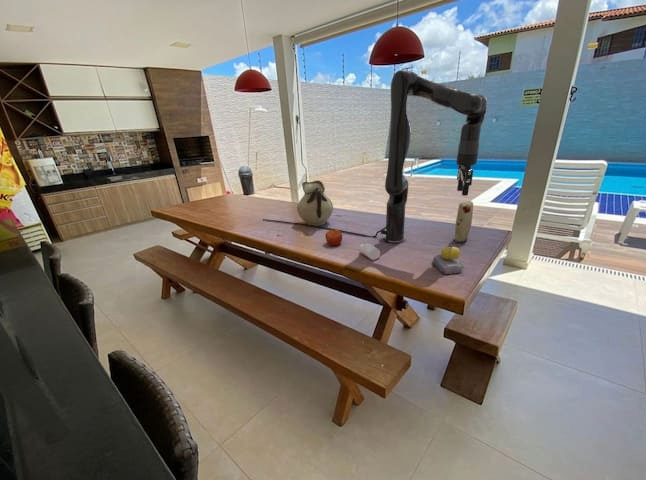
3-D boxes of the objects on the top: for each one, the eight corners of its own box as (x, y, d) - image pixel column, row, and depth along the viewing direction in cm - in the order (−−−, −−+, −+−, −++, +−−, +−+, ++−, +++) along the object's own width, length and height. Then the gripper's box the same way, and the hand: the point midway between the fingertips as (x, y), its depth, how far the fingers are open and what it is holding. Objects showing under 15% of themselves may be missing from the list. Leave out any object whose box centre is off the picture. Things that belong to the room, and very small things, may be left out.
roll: (367, 249, 151) (367, 239, 149) (380, 258, 141) (380, 247, 138) (356, 252, 149) (356, 241, 147) (368, 261, 139) (368, 249, 136)
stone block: (451, 264, 135) (430, 262, 134) (455, 254, 133) (433, 252, 132) (464, 277, 125) (441, 275, 123) (468, 267, 122) (445, 264, 121)
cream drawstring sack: (313, 216, 208) (310, 178, 197) (342, 221, 196) (340, 181, 185) (291, 225, 192) (286, 185, 181) (321, 231, 179) (318, 188, 169)
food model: (463, 244, 150) (469, 204, 141) (450, 241, 154) (455, 202, 146) (471, 239, 156) (477, 200, 147) (458, 236, 160) (463, 198, 152)
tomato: (331, 248, 155) (331, 233, 151) (322, 243, 162) (321, 229, 158) (346, 244, 159) (346, 229, 155) (337, 239, 166) (336, 225, 163)
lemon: (441, 260, 125) (442, 248, 124) (439, 257, 130) (440, 245, 128) (461, 261, 124) (462, 248, 122) (458, 257, 129) (459, 245, 127)
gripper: (454, 150, 128) (449, 189, 135) (462, 154, 116) (456, 197, 123) (473, 149, 127) (467, 189, 134) (483, 153, 114) (476, 196, 121)
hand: (462, 193), depth 128 cm, fingers open, 8 cm apart
